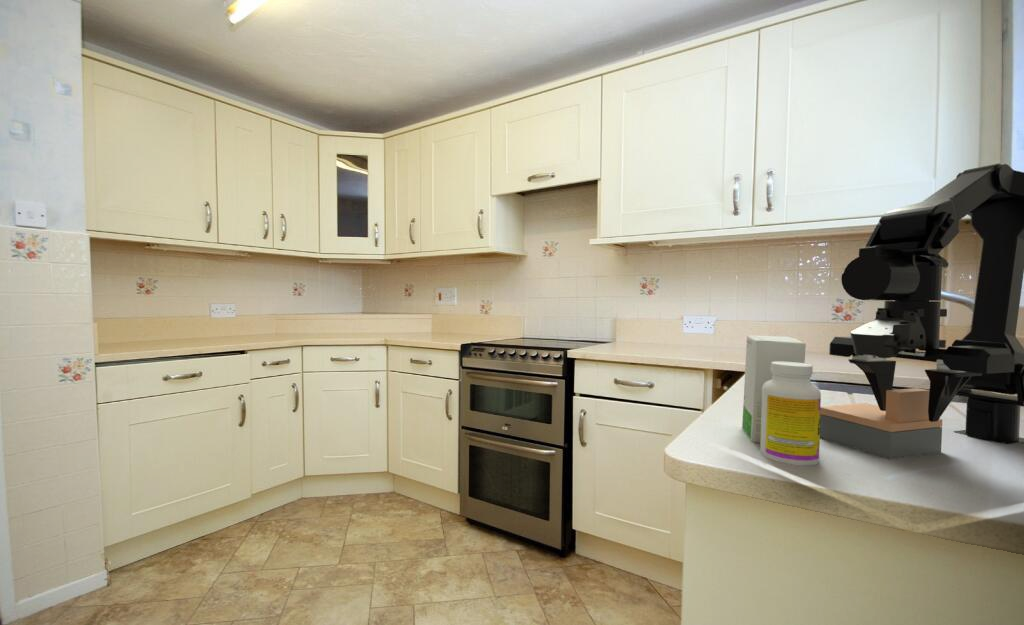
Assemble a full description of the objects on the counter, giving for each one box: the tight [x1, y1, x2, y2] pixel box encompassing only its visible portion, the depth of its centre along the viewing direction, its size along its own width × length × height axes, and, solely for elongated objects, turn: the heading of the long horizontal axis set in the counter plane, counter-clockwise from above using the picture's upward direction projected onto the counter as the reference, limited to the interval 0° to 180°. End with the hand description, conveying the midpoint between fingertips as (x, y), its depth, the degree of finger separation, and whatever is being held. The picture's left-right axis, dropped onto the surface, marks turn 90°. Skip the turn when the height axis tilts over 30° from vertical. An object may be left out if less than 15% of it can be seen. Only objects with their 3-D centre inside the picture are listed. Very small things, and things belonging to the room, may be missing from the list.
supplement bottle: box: [759, 361, 822, 466], centre depth 60 cm, size 7×7×13 cm
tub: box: [820, 414, 943, 460], centre depth 66 cm, size 10×10×4 cm
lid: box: [820, 387, 943, 432], centre depth 65 cm, size 10×10×5 cm
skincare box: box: [741, 334, 807, 443], centre depth 69 cm, size 8×7×16 cm
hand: (907, 415), depth 62 cm, fingers open, 6 cm apart
